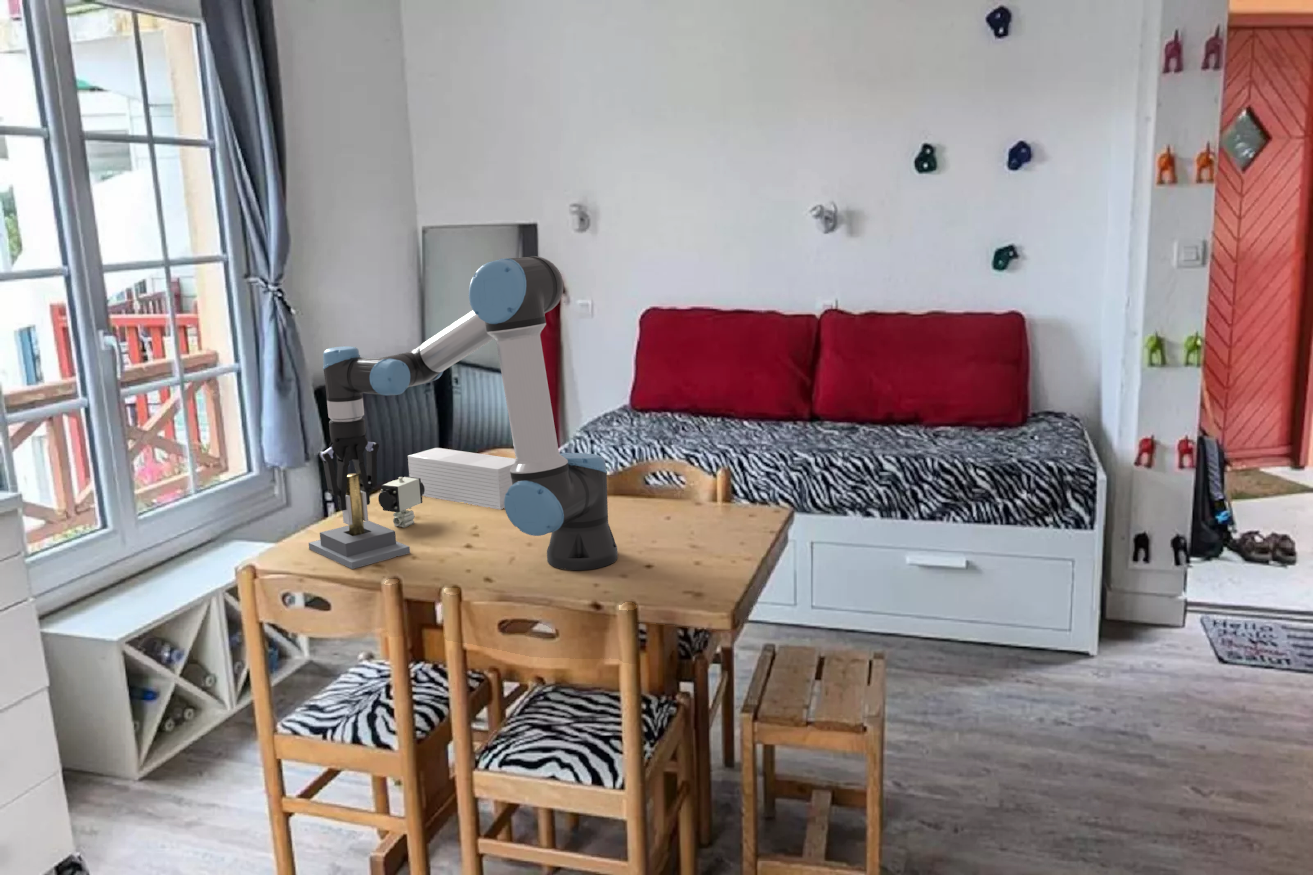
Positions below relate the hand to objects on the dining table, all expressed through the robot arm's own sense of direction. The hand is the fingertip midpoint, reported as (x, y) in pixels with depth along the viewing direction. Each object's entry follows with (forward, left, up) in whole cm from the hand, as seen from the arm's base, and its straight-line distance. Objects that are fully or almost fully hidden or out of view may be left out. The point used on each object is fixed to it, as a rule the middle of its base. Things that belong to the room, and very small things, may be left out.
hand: (355, 521), depth 230 cm
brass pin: (0, 0, -4) cm, 4 cm away
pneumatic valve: (+10, -17, -7) cm, 21 cm away
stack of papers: (+19, -42, -7) cm, 47 cm away
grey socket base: (0, 0, -7) cm, 7 cm away
